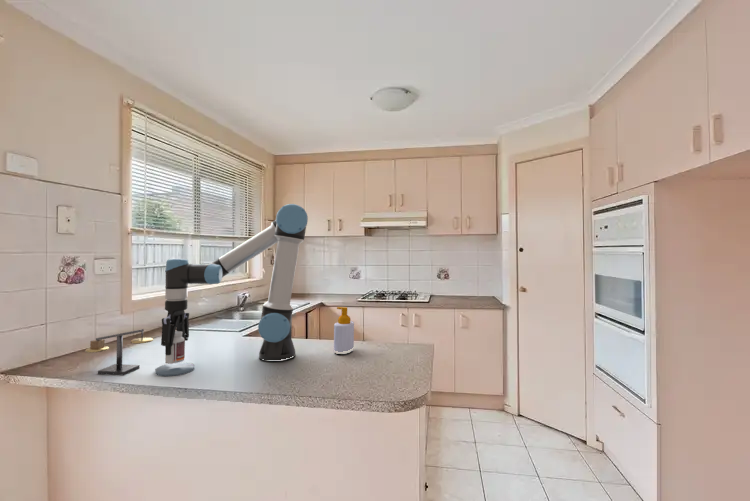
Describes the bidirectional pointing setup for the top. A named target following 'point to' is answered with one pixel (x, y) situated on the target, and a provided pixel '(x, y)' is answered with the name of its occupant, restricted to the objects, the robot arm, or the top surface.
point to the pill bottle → (178, 347)
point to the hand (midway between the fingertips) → (175, 360)
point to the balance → (118, 367)
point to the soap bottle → (343, 332)
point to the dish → (174, 369)
